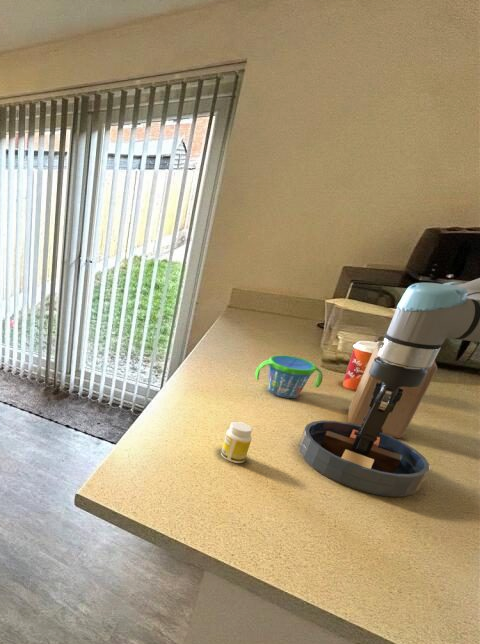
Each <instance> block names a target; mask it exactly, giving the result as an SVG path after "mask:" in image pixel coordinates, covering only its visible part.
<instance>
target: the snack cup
mask: <svg viewBox="0 0 480 644" xmlns="http://www.w3.org/2000/svg"><path fill="white" fill-rule="evenodd" d="M266 366H268V368H269V369H268V378H267V379H268V380H267V391H269V393H271V394H273V395H275V396H277V397H280V398H281V397H282V398H286V399H295V398H297V397H298V396H299V395H300V394H301V393H302V391H303V389H304V387H305V386H306V385H307V382H308V381H309V379H310V377H311V376H312V375H313V373H315V371H317V372H318V373H317V376H316V380H315V381H314V382H313V383H314V384H313V386H314V387H315V388H319V387H320V386H321V385H322V382H323V378H324V375H323V372H322V370H321V368H319V367H318V366H316V365H315V364H314V363H313V362H311V361H309V360H308V359H305V358H301V357H297V356H294V355H293V356H292V355H285V354H281V355H280V354H277V355H272V356H270V358H269V359H267V360H264V361H263V362H261V363H260V364H259V365H258V366H257V368H256V369H255V371H254V376H255V380H256V381H259V380H260V371H261V369H263V368H264V367H266Z"/></svg>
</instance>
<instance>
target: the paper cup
mask: <svg viewBox="0 0 480 644" xmlns="http://www.w3.org/2000/svg"><path fill="white" fill-rule="evenodd" d="M376 346H377V342H376V341H368V340H358V341H357V342H355V344H353V345H352V347H353V349H352V353H351V356H350V359H349V361H348V365H347V368H346V373H345V374H344V378H343V382H342V386H343V387H344V388H346V389H349V390H351V391H355V392H356V390H357V388H358V385H359V383H360V381H361V378H362V376H363V374H364V371H365V369H366V367H367V364H368V362H369V360H370V357H371V355H372V353H373V350H374V348H375V347H376Z"/></svg>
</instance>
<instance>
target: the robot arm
mask: <svg viewBox="0 0 480 644" xmlns="http://www.w3.org/2000/svg"><path fill="white" fill-rule="evenodd" d="M446 339H452V340H460V341H466V342H467V341H468V342H474V343H480V277H478V278H476V279H473V280H470V281H467V282H464V281H450V282H445V283H438V282H415V283H412V284H411V285H409V286H408V287H407V288H406V290H405V291H404V293H403V294H402V296H401V299H400V300H399V302H398V303H397V305H396V309H395V312H394V314H393V317H392V319H391V321H390V324H389V326H388V329H387V331H386V333H385V335H384V338H383V340H377V342H376V343H377V345H379V346H381V347H380V349H379V351H378V353H377V355H378V356H379V357H377V358H375V359H374V361H373V363H372V366H371V368H370V370H369V374H370V375H371V376H372V377H373V378H375V379H377V380H380V381H381V382H380V383H376V385H375V387H374V391H373V395H372V398H371V401H370V404H369V406H370V408H369V410H368V412H367V414H366V417H365V418H364V419H363V421H364V422H363V423H362V424H361V425H362V428H360V429H359V431H358V432H357V431H355V433H354V435H356V438H355V441H354V444H353V446H352V448H351V450H350V451H352V452H355V453H357V454H360V455H363V456H366V457H367V456H368V454H369V452H370V450H371V448H372V446H373V444H374V442H375V441H376V440H377V436H378V434H379V433H382V430H383V429H382V427H383V425H384V423H385V421H386V419H387V417H388V415H389V413H390V412H392V411H393V409H394V407H395V405H396V403H397V402H398V401H399V400H400V399H401V397H402V394H403V393H402V392H403V389H401V388H399V387H418V386H420V385H421V384H422V382H423V380H424V379H425V377H426V375H427V373H428V369H427V367H431V366H432V364H433V362H434V360H435V361H436V358H437V356H438V354H439V352H440V350H441V347H442V346H443V344H444V342H445V340H446Z"/></svg>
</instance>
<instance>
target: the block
mask: <svg viewBox="0 0 480 644" xmlns="http://www.w3.org/2000/svg"><path fill="white" fill-rule="evenodd" d="M380 347H381V346H379V345H377V346H376V347H375V348H374V350H373V353H372V355H371V357H370V360H369V362H368V364H367V367H366V369H365V371H364V374H363V376H362V378H361V381H360V383H359V385H358V388H357V390H356V391H355V393H354V395H353V398H352V400H351V402H350V404H349V407H348V416H347V417H348V418H347V421H348V422H347V423H351V424H356V425H360V426H362V425H361V424H362V423H363V422H364V421H363V419H364V418H365V417H366V414H367V412H368V410H369V408H370V406H369V404H370V401H371V398H372V395H373V391H374V387H375V385H376V383H380V382H381V381H380V380H377V379H375V378H373V377H372V376H371V375H370V374H369V370H370V368H371V366H372V363H373V361H374V359H375V358H377V357H379V356H378V355H377V353H378V351H379V349H380ZM427 369H428V373H427V375H426V377H425V379H424V380H423V382H422V384H421V385H420V386H418V387H399V388H401V389H403V392H402V393H403V394H402V397H401V399H400V400H399V401H398V402H397V403H396V405H395V407H394V409H393V411H392V412H390V413H389V415H388V417H387V419H386V421H385V423H384V425H383V427H382V429H383V430H382V433H384V434H387V435H389V436H392V437H394V438H396V439H401V438H402V437H404V436H405V434H406V431H407V429H408V428H409V425H410V424H411V422H412V420H413V418H414V416H415V414H416V412H417V410H418V408H419V406H420V405H421V402H422V400H423V398H424V396H425V394H426V393H427V390H428V389H429V386H430V385H431V383H432V380H433V378H434V377H435V374H436V373H437V371H438V365H437V363H436V359H435V360H434V362H433V364H432V366H431V367H427Z"/></svg>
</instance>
